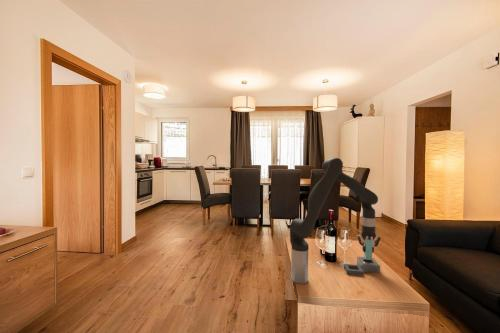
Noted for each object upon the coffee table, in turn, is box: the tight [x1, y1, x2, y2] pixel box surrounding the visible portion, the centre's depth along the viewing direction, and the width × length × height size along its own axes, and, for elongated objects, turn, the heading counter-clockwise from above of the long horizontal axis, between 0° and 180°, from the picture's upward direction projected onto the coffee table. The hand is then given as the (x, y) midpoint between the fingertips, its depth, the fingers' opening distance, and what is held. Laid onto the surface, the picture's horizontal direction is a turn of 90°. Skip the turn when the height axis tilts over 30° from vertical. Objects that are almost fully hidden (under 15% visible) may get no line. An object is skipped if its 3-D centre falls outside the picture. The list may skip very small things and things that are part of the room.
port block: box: [356, 256, 381, 274], centre depth 149 cm, size 12×10×5 cm
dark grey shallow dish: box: [343, 263, 365, 277], centre depth 144 cm, size 9×9×2 cm
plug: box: [363, 239, 373, 259], centre depth 149 cm, size 4×4×12 cm
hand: (368, 252), depth 149 cm, fingers closed on plug, 3 cm apart
